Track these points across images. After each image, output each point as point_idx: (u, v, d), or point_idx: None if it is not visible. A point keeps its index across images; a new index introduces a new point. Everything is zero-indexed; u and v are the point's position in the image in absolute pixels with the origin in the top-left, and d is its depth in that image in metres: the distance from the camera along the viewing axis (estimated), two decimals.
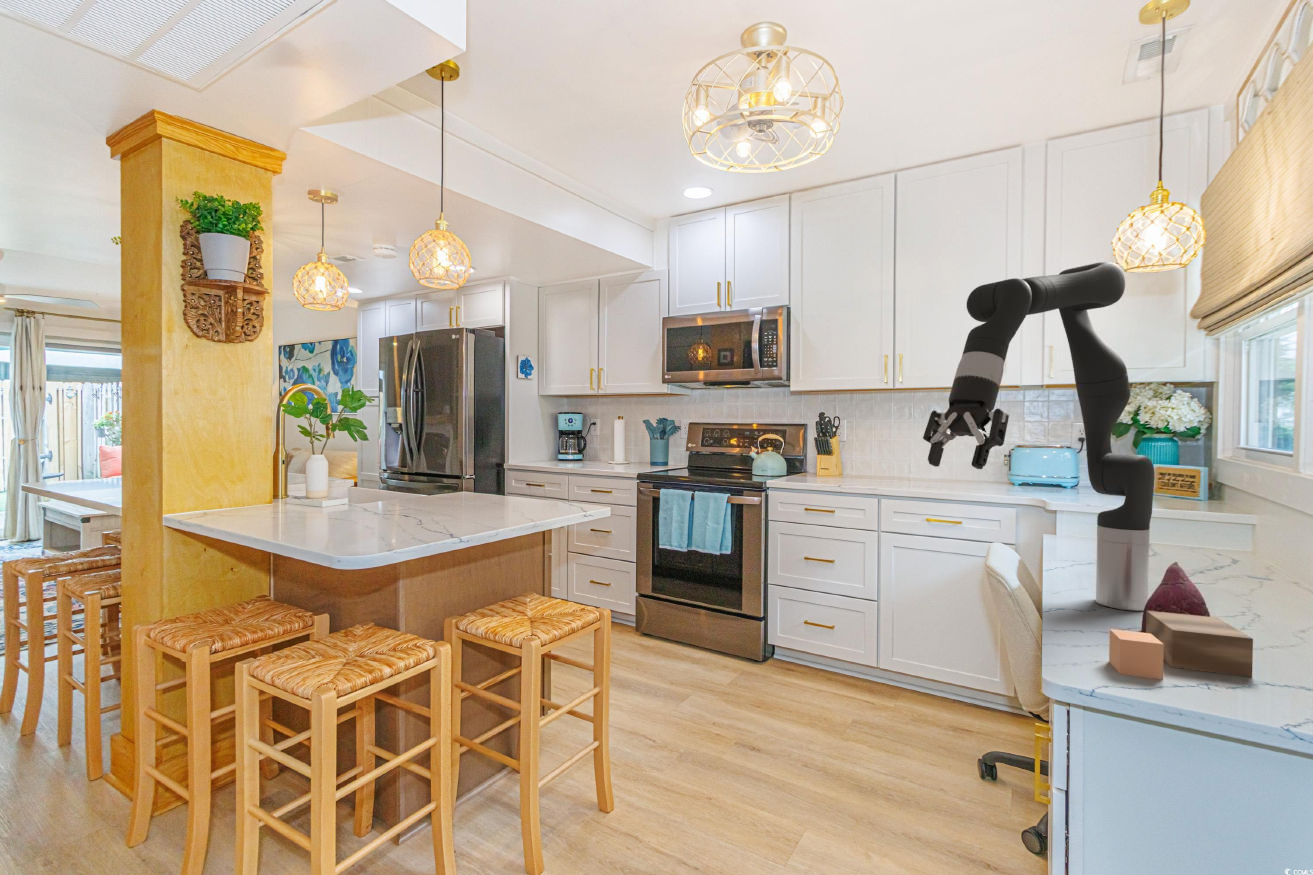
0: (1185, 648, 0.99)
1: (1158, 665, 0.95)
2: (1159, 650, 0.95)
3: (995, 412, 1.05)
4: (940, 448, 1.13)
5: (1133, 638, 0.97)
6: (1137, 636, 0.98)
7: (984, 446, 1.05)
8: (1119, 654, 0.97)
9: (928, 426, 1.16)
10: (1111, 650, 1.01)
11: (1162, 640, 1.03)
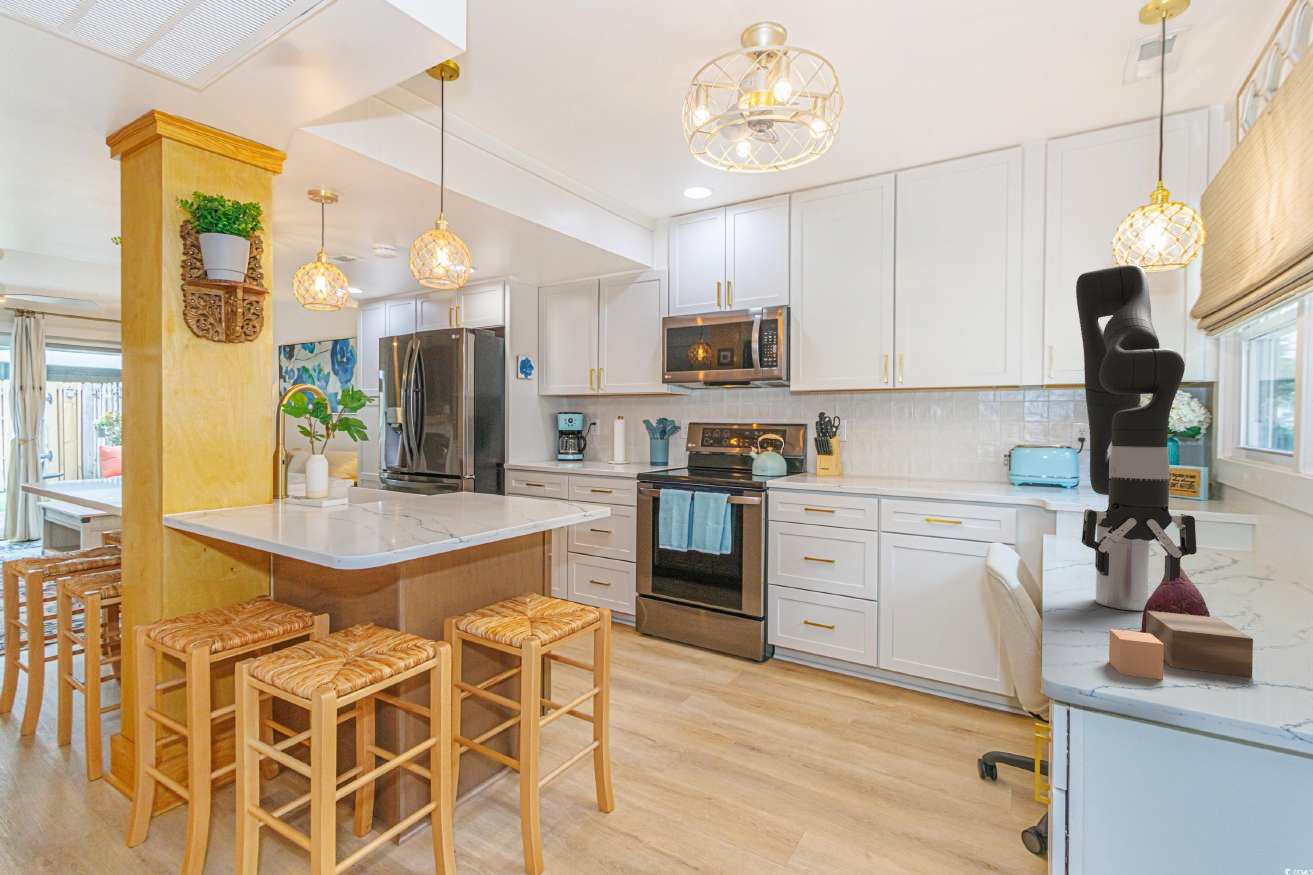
0: (1185, 648, 0.99)
1: (1158, 665, 0.95)
2: (1159, 649, 0.95)
3: (1188, 520, 0.94)
4: None
5: (1133, 638, 0.97)
6: (1137, 636, 0.98)
7: (1179, 558, 0.95)
8: (1119, 654, 0.97)
9: (1089, 530, 0.99)
10: (1111, 650, 1.01)
11: (1162, 640, 1.03)
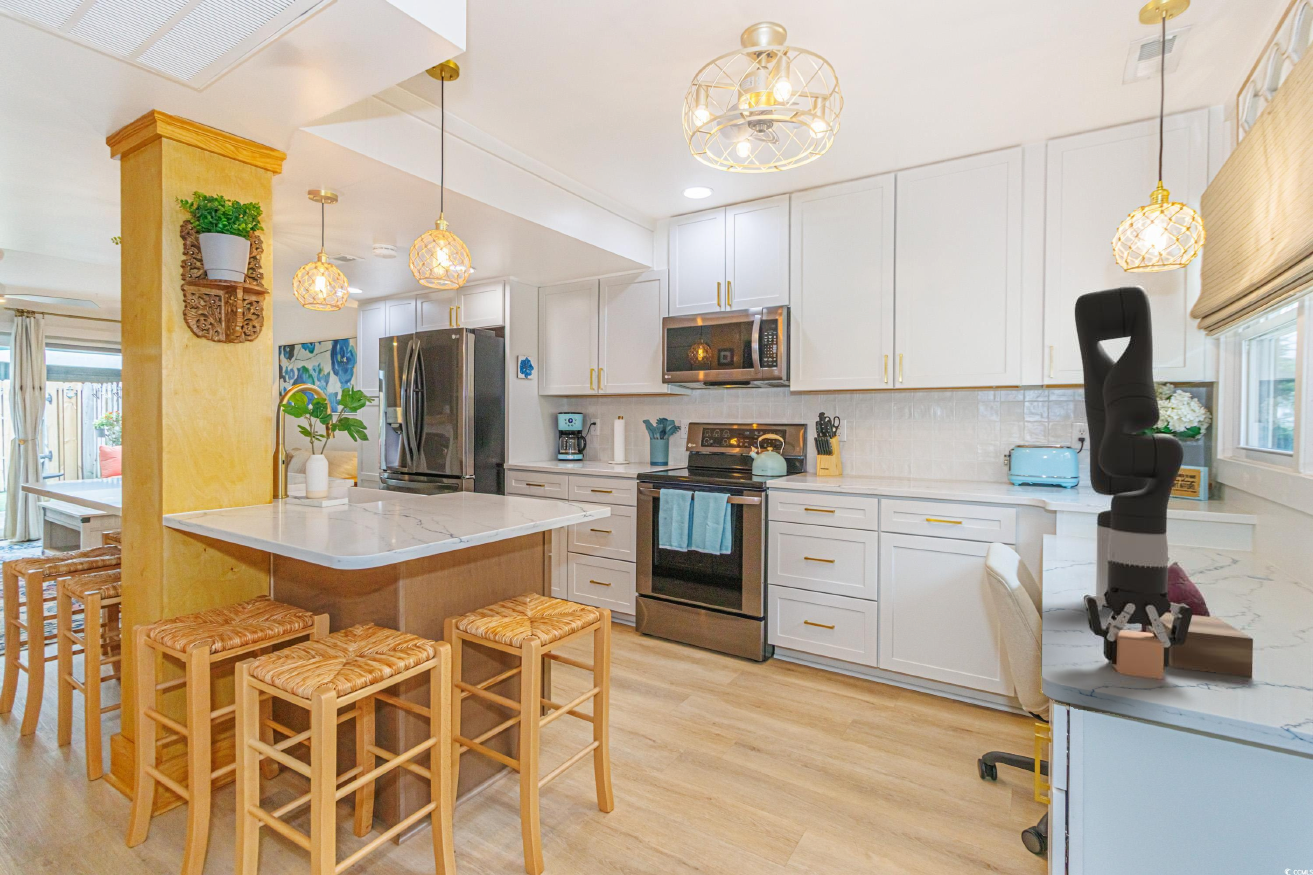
0: (1185, 648, 0.99)
1: (1158, 664, 0.95)
2: (1159, 649, 0.95)
3: (1186, 611, 0.95)
4: None
5: (1133, 637, 0.97)
6: (1137, 635, 0.98)
7: (1168, 647, 0.96)
8: (1119, 653, 0.97)
9: (1093, 618, 0.99)
10: None
11: None
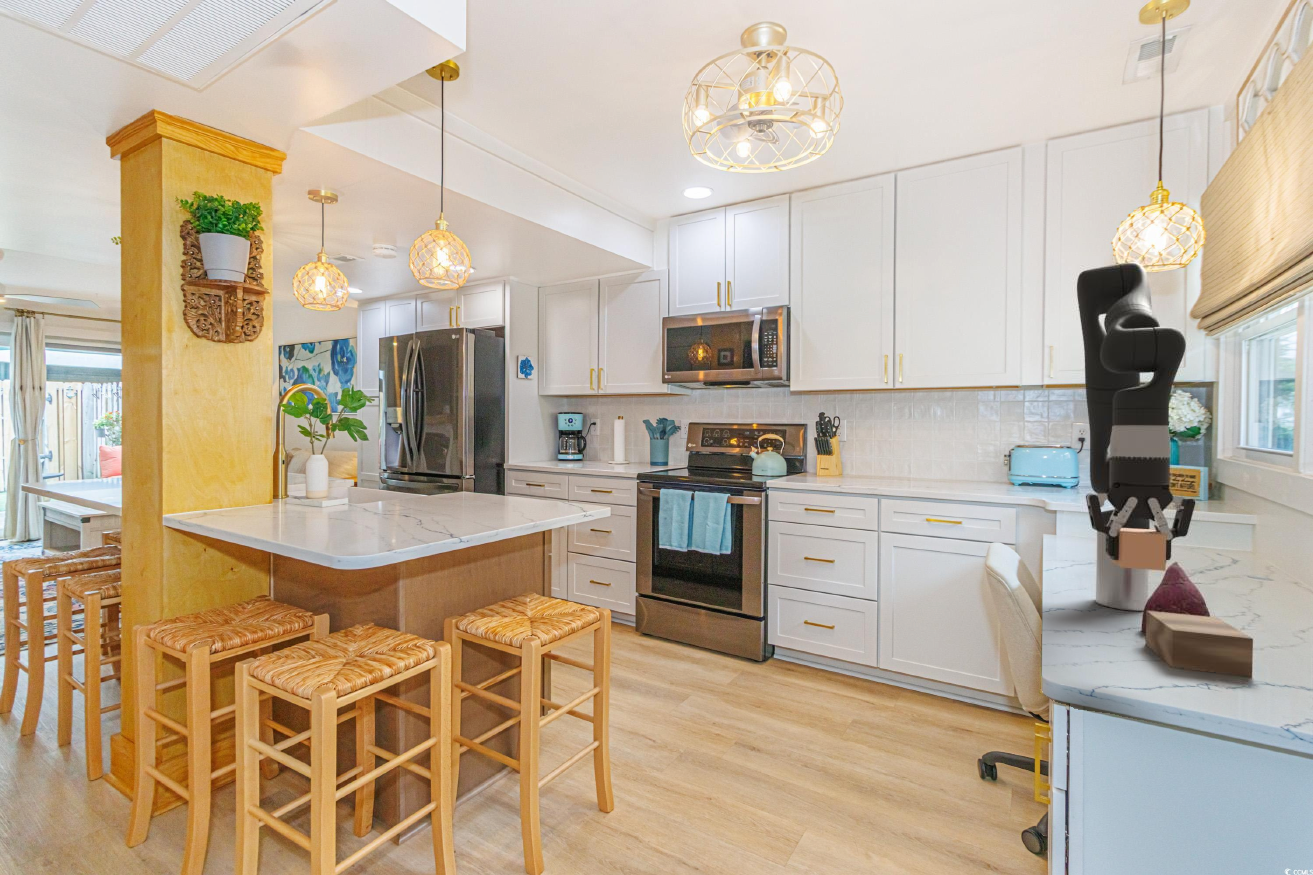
0: (1185, 648, 0.99)
1: (1160, 556, 0.95)
2: (1161, 541, 0.95)
3: (1188, 503, 0.94)
4: None
5: (1135, 532, 0.97)
6: (1139, 531, 0.98)
7: (1170, 540, 0.96)
8: (1121, 547, 0.97)
9: (1096, 515, 0.99)
10: None
11: (1162, 640, 1.03)
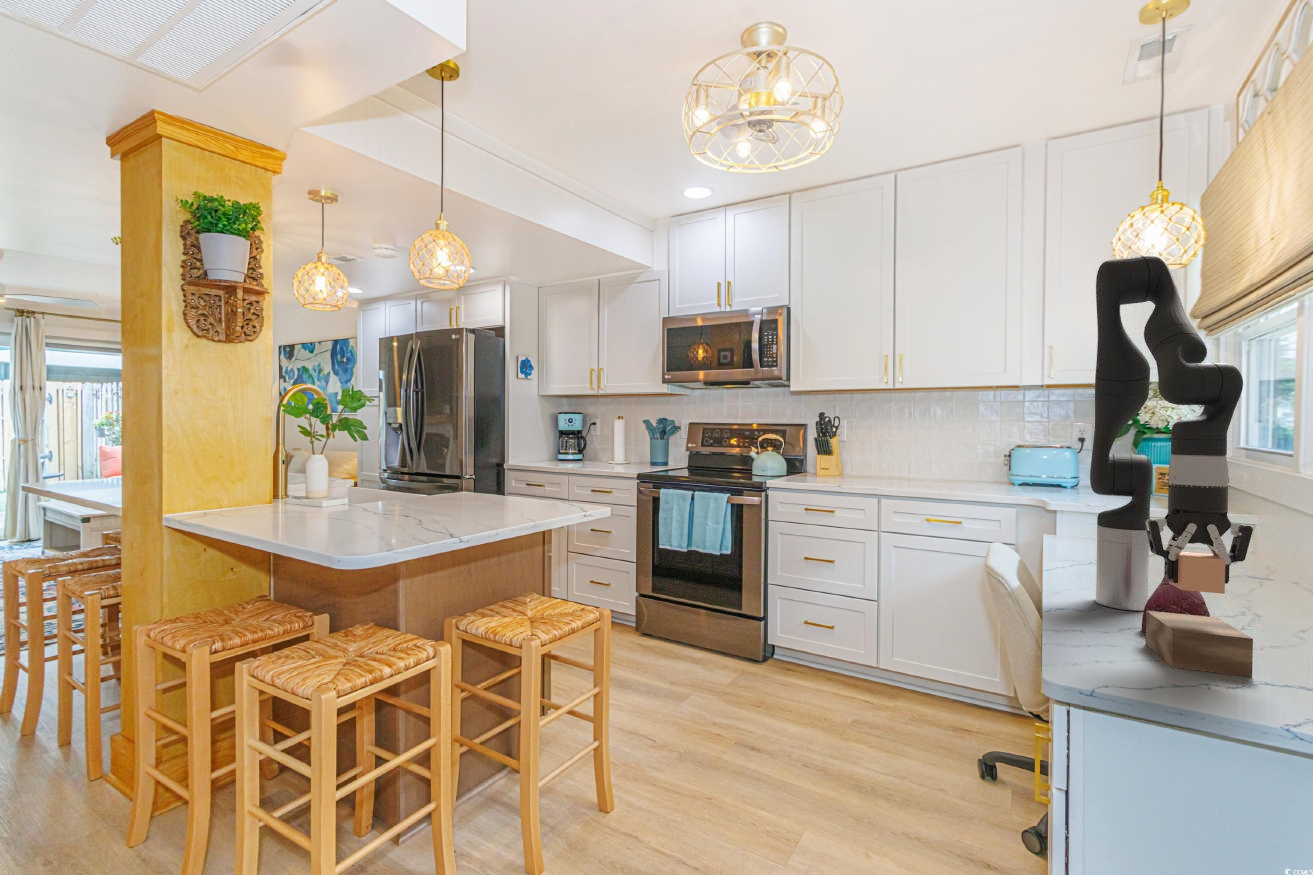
0: (1185, 648, 0.99)
1: (1220, 580, 1.00)
2: (1221, 565, 1.00)
3: (1246, 529, 1.00)
4: None
5: (1195, 556, 1.02)
6: (1198, 555, 1.03)
7: (1228, 565, 1.01)
8: (1181, 571, 1.02)
9: (1155, 539, 1.04)
10: None
11: (1162, 640, 1.03)
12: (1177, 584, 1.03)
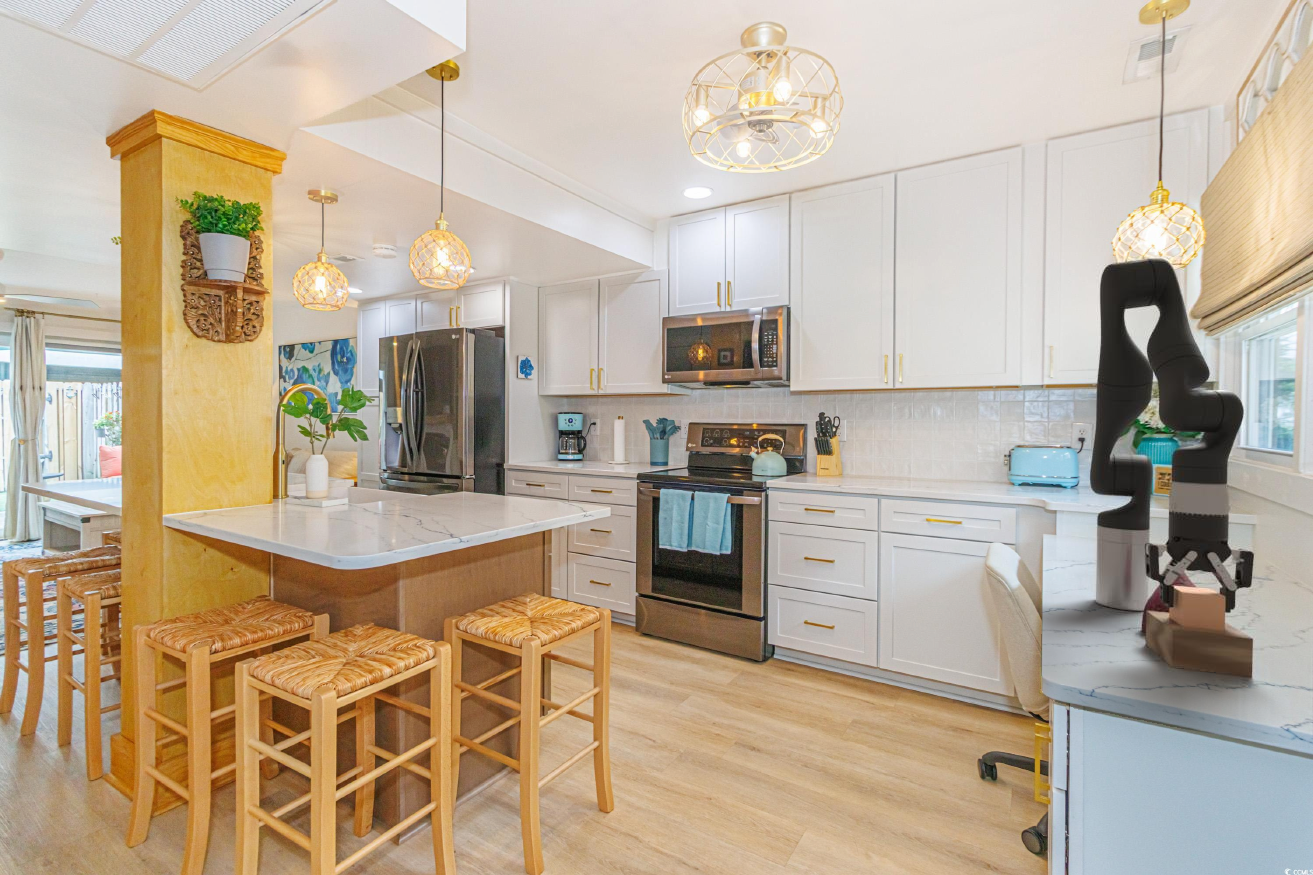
0: (1185, 648, 0.99)
1: (1220, 616, 1.00)
2: (1221, 602, 1.00)
3: (1247, 555, 1.00)
4: None
5: (1195, 592, 1.02)
6: (1198, 590, 1.03)
7: (1234, 590, 1.01)
8: (1182, 607, 1.02)
9: (1153, 564, 1.04)
10: None
11: (1162, 640, 1.03)
12: (1177, 619, 1.03)
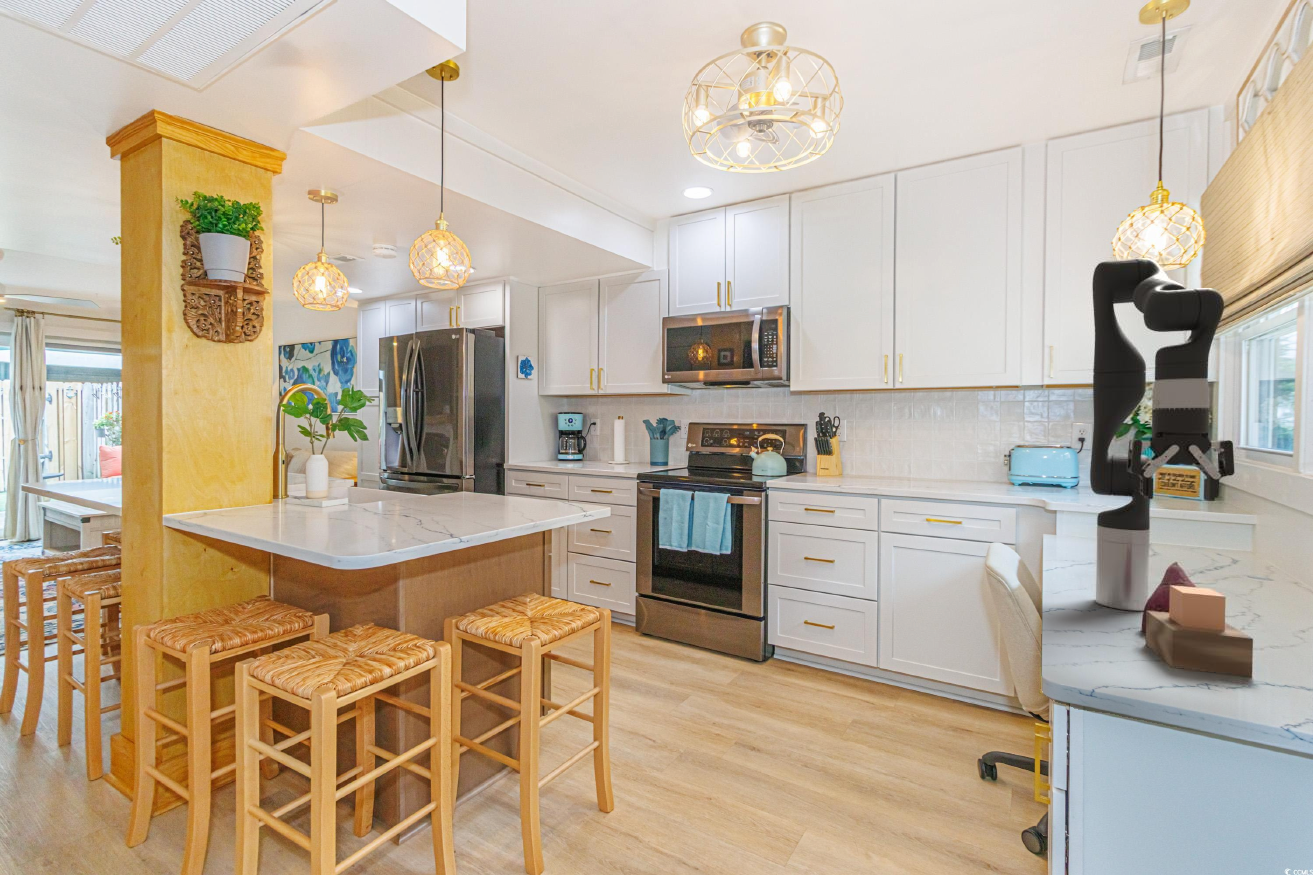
0: (1185, 648, 0.99)
1: (1220, 616, 1.00)
2: (1221, 602, 1.00)
3: (1226, 444, 1.04)
4: None
5: (1195, 592, 1.02)
6: (1198, 590, 1.03)
7: (1218, 479, 1.05)
8: (1182, 607, 1.02)
9: (1135, 458, 1.08)
10: (1172, 605, 1.06)
11: (1162, 640, 1.03)
12: (1177, 619, 1.03)
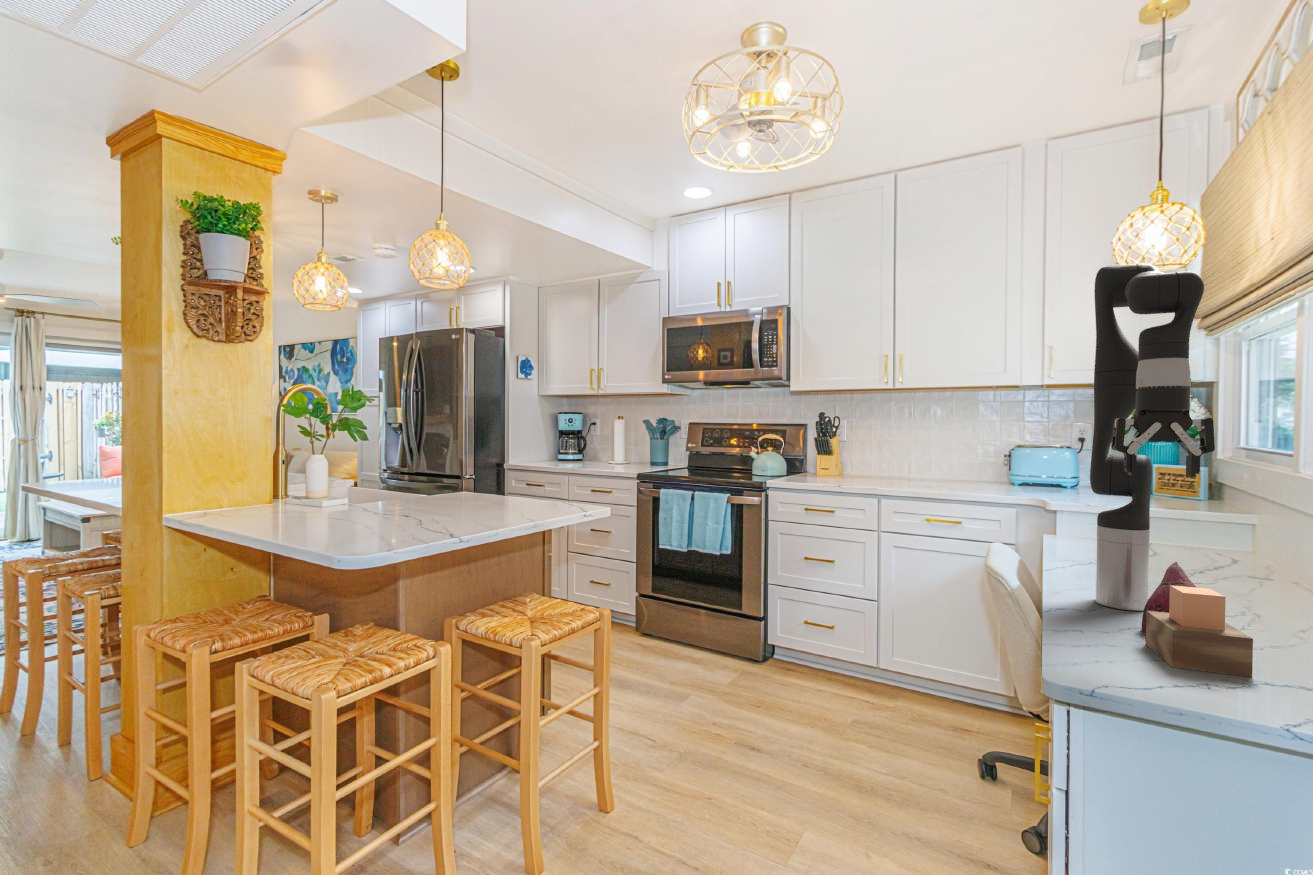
0: (1185, 648, 0.99)
1: (1220, 616, 1.00)
2: (1221, 602, 1.00)
3: (1207, 422, 1.07)
4: None
5: (1195, 592, 1.02)
6: (1198, 590, 1.03)
7: (1199, 456, 1.08)
8: (1182, 607, 1.02)
9: (1119, 435, 1.12)
10: (1172, 605, 1.06)
11: (1162, 640, 1.03)
12: (1177, 619, 1.03)
